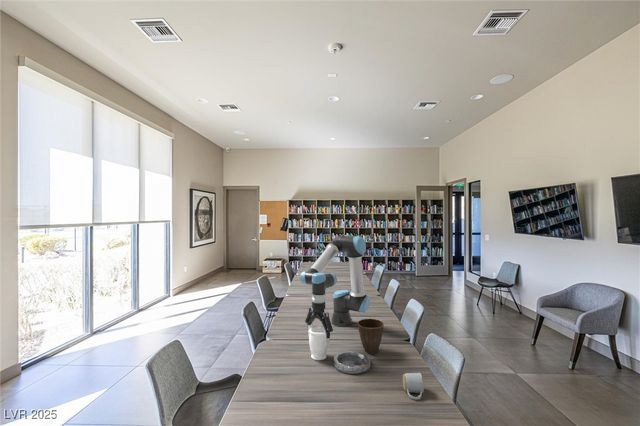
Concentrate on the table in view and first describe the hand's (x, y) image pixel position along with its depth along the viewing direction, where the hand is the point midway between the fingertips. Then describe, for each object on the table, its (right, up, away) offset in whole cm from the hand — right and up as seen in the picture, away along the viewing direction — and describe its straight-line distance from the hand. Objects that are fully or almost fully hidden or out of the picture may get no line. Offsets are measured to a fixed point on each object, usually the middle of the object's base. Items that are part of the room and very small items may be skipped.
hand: (318, 340), depth 162 cm
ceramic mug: (+43, -9, -33) cm, 54 cm away
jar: (0, -10, 0) cm, 10 cm away
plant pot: (+30, -10, +7) cm, 33 cm away
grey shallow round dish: (+18, -9, -8) cm, 21 cm away
